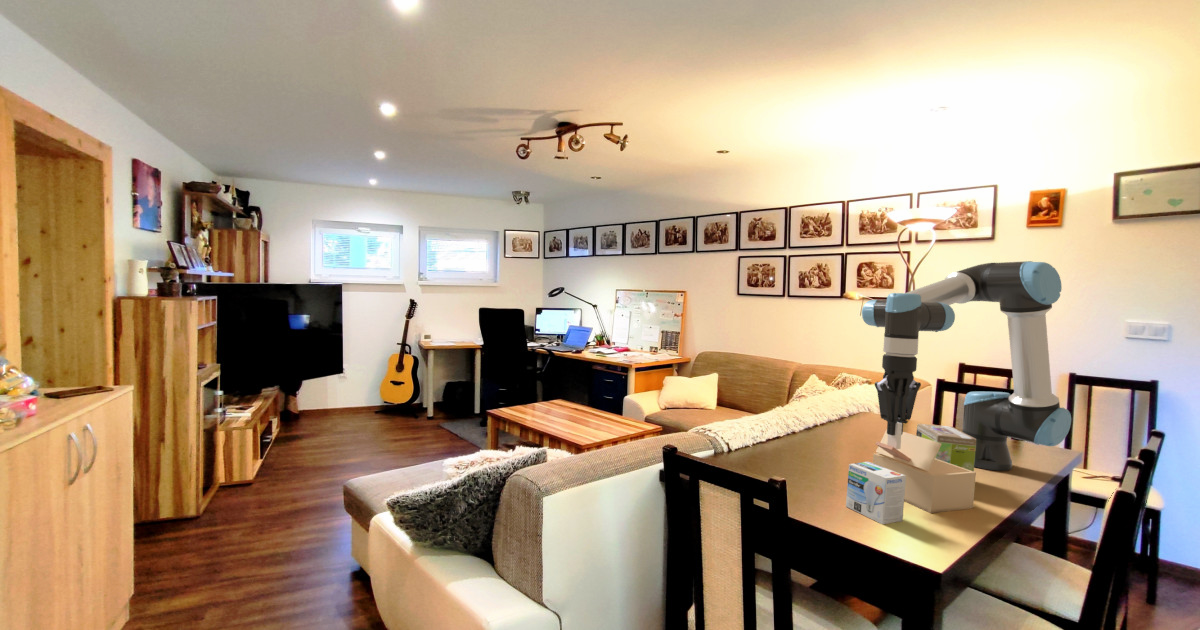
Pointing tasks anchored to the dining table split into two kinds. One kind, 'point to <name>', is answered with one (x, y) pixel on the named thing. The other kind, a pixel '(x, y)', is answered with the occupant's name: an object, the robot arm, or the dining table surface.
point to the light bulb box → (876, 492)
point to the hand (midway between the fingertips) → (893, 447)
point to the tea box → (951, 444)
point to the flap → (911, 450)
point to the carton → (934, 484)
